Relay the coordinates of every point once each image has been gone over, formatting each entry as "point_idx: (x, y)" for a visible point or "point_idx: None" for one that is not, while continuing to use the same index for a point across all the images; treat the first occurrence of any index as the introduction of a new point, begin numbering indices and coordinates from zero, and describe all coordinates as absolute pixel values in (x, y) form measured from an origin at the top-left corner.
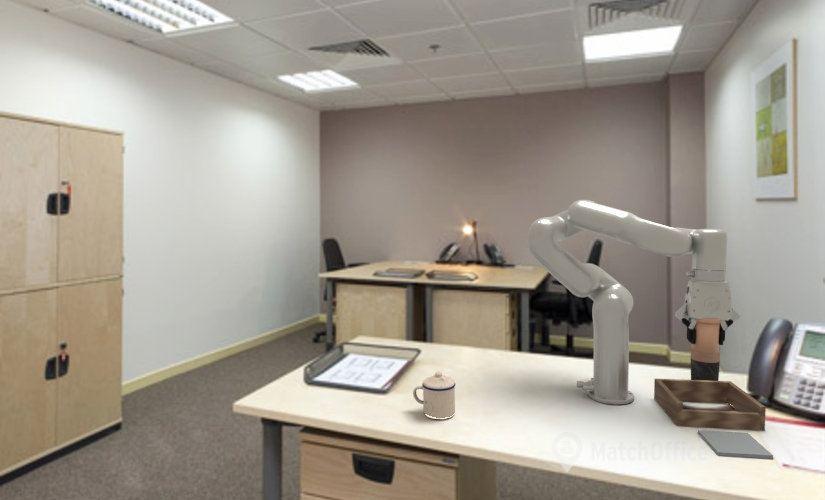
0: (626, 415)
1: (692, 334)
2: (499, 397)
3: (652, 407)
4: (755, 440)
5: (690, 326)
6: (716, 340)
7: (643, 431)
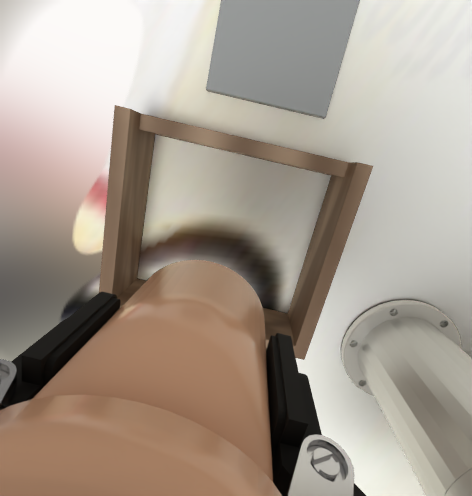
0: (433, 240)
1: (296, 392)
2: None
3: (333, 278)
4: (216, 37)
5: (337, 468)
6: (144, 295)
7: (458, 142)
